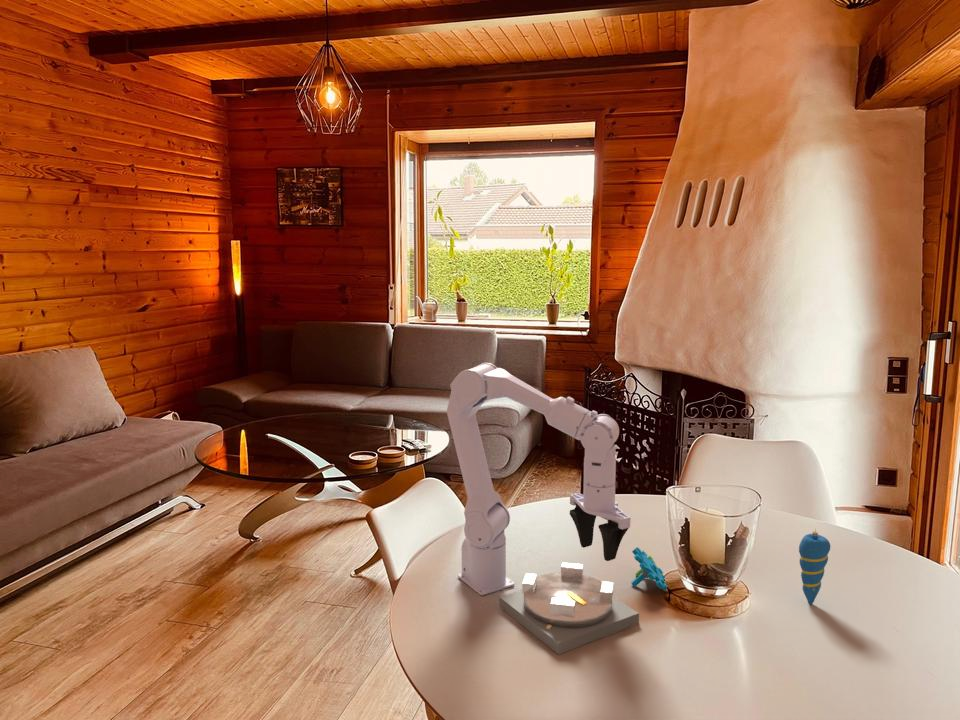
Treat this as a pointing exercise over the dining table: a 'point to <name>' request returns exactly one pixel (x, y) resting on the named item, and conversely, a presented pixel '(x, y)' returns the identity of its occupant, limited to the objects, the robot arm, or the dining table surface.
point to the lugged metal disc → (567, 597)
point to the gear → (648, 569)
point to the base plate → (568, 637)
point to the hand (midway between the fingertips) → (597, 552)
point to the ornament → (813, 563)
